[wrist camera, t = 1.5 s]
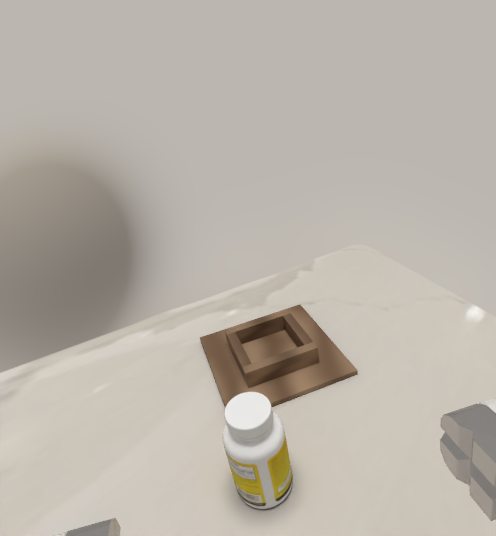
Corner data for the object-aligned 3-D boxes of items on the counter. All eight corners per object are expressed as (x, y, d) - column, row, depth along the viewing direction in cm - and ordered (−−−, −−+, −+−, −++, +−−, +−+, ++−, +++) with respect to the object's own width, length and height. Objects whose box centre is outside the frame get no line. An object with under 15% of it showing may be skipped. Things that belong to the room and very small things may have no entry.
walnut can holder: (231, 422, 44) (226, 403, 43) (200, 340, 58) (196, 324, 56) (357, 373, 47) (356, 354, 46) (300, 307, 61) (298, 291, 60)
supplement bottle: (284, 450, 40) (272, 378, 35) (300, 501, 35) (288, 427, 31) (232, 464, 39) (212, 393, 35) (241, 518, 35) (219, 445, 30)
